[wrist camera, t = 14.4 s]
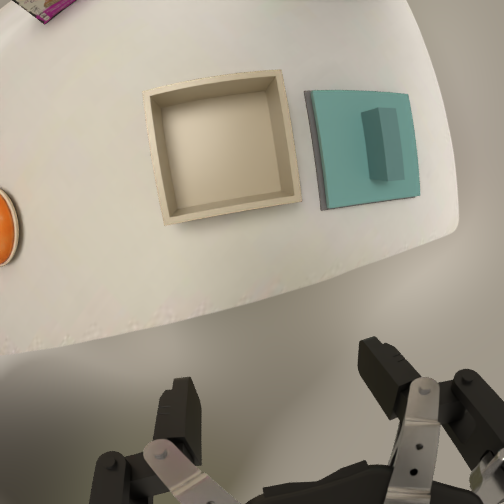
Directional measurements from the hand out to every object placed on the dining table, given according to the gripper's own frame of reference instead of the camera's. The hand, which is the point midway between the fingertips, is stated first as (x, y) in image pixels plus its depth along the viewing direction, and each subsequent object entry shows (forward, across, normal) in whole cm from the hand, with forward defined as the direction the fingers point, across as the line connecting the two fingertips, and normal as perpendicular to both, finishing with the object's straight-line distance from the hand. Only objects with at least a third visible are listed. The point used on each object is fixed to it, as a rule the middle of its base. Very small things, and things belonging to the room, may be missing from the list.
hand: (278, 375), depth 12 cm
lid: (+29, -22, -10) cm, 38 cm away
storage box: (+30, 0, -12) cm, 32 cm away
